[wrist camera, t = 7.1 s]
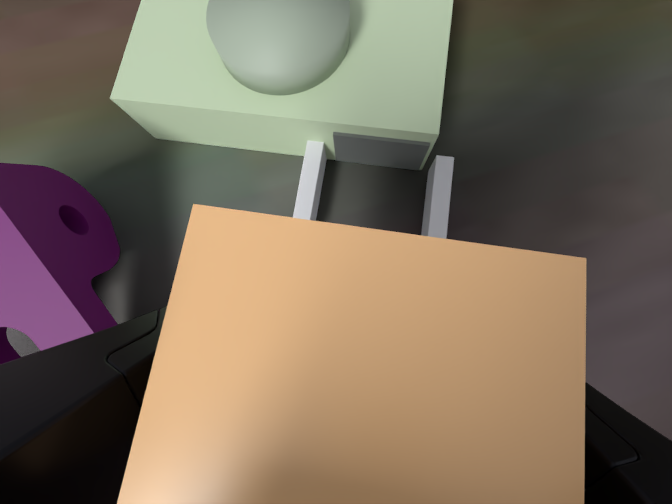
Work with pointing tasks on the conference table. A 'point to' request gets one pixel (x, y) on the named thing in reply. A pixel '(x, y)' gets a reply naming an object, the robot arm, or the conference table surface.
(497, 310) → the tan block
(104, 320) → the mounting bracket
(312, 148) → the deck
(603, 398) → the robot arm
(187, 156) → the conference table surface
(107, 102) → the conference table surface
